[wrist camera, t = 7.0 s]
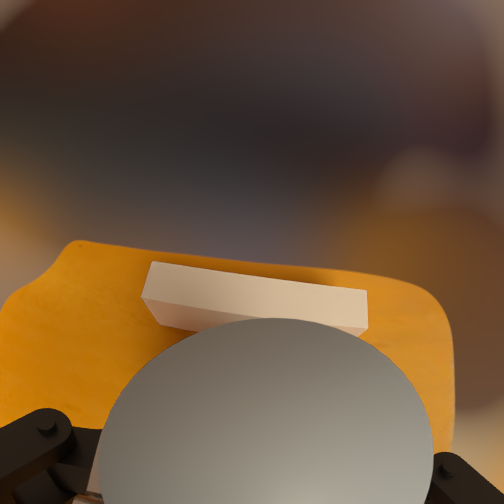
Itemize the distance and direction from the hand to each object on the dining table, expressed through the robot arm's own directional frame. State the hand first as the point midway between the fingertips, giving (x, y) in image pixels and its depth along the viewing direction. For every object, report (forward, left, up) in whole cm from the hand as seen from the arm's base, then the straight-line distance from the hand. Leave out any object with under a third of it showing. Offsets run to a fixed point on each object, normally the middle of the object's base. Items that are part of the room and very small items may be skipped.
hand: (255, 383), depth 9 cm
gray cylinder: (0, -2, -5) cm, 5 cm away
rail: (0, +7, -15) cm, 16 cm away
